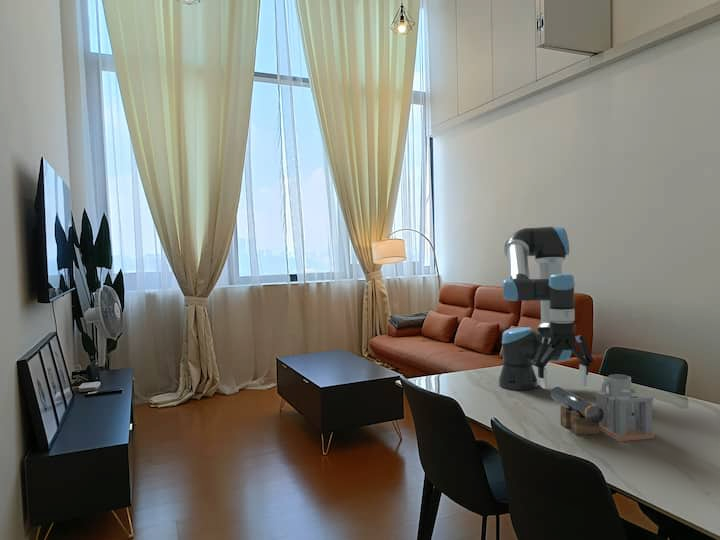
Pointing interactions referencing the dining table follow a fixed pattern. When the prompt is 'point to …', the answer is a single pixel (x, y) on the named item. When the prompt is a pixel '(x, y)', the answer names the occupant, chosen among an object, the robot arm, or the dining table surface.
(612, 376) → the cup
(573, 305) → the robot arm
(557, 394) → the tube
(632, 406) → the ornament
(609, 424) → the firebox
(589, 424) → the rack
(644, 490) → the dining table surface
